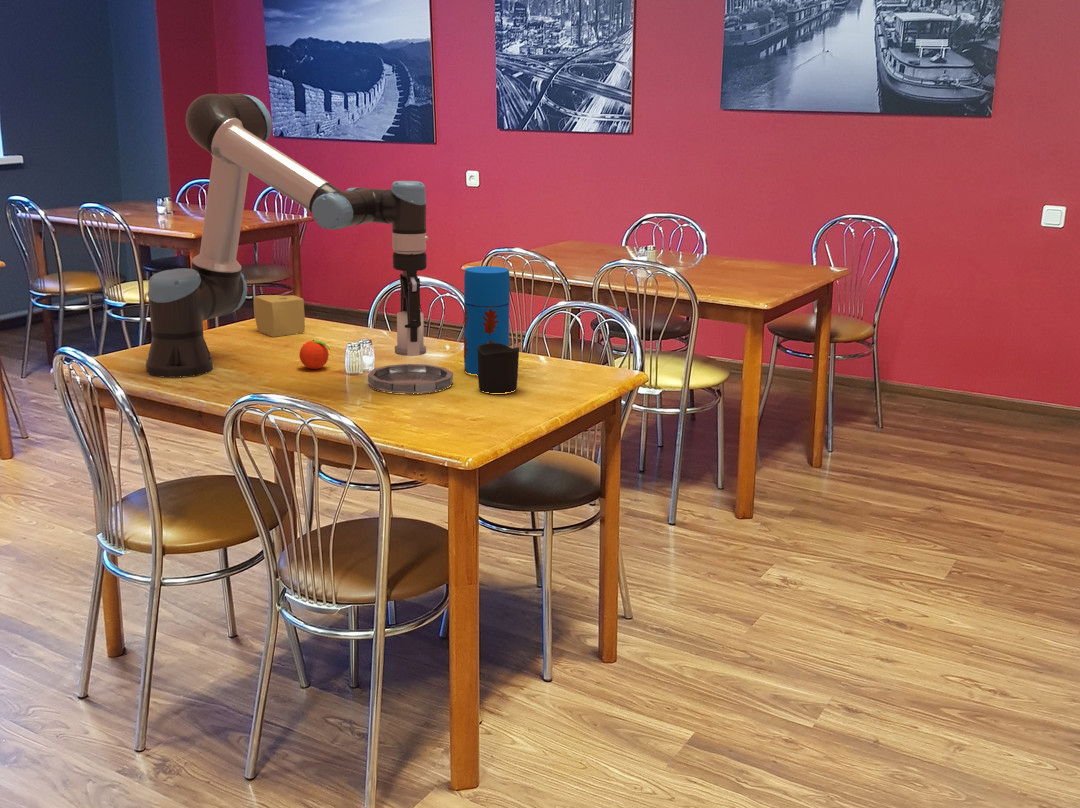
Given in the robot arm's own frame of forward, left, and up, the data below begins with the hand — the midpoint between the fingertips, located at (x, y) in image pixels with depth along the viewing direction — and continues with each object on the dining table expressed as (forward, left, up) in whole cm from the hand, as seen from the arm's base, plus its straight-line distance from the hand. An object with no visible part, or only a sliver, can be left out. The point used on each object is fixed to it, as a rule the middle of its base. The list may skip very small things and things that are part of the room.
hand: (410, 351), depth 253 cm
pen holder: (+8, -19, -8) cm, 22 cm away
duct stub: (0, 0, 0) cm, 0 cm away
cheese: (+21, +64, -8) cm, 68 cm away
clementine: (-3, +27, -8) cm, 28 cm away
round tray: (0, 0, -8) cm, 8 cm away
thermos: (+20, -7, -8) cm, 23 cm away
